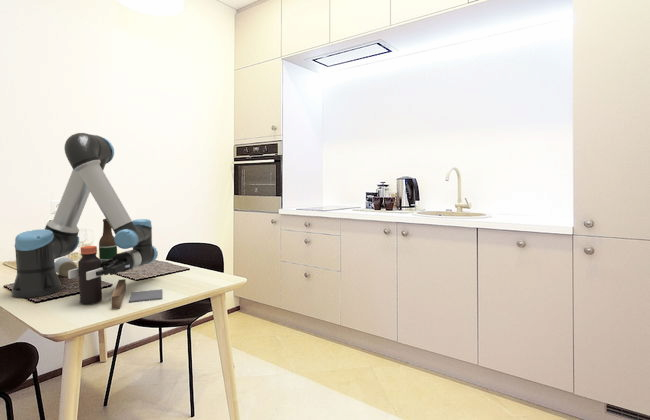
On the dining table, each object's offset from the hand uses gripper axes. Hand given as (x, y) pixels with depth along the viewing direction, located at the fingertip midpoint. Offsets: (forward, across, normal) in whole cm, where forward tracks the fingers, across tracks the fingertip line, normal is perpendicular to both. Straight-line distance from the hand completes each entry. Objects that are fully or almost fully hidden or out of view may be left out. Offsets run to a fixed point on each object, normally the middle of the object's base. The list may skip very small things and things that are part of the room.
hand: (78, 275), depth 130 cm
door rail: (-10, -7, -11) cm, 17 cm away
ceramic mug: (-33, +38, -11) cm, 52 cm away
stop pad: (-15, -15, -11) cm, 24 cm away
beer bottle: (-49, +32, -11) cm, 59 cm away
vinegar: (-5, 0, -11) cm, 12 cm away
